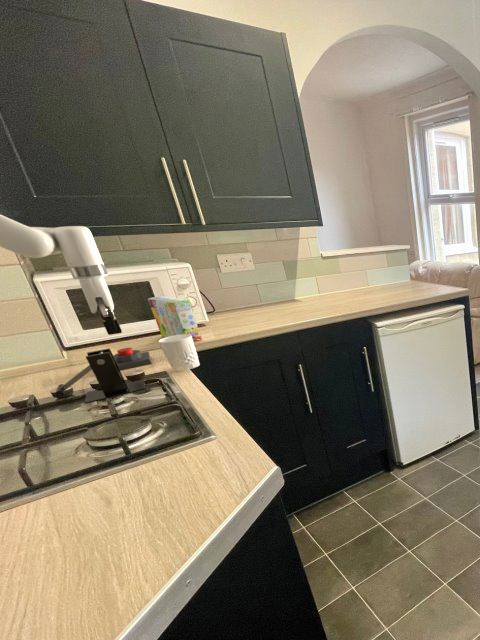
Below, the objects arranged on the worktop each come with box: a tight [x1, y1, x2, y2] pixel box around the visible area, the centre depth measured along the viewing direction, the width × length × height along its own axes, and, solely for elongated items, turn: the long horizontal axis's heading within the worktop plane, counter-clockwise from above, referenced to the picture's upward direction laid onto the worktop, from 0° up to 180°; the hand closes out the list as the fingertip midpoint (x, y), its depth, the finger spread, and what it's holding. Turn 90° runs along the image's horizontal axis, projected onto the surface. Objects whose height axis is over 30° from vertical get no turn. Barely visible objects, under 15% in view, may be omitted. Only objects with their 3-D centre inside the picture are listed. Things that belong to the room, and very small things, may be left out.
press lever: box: [54, 351, 103, 397], centre depth 106 cm, size 13×6×2 cm
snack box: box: [147, 295, 203, 343], centre depth 155 cm, size 21×6×15 cm, turn 59°
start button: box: [117, 347, 134, 356], centre depth 130 cm, size 4×4×2 cm
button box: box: [113, 349, 153, 372], centre depth 131 cm, size 10×10×4 cm
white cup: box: [157, 334, 201, 372], centre depth 124 cm, size 8×8×10 cm
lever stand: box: [84, 347, 147, 405], centre depth 109 cm, size 12×9×12 cm
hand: (115, 333), depth 128 cm, fingers closed
